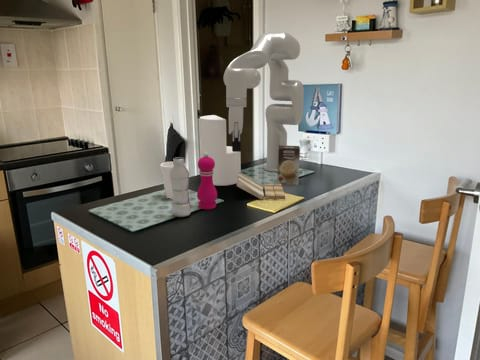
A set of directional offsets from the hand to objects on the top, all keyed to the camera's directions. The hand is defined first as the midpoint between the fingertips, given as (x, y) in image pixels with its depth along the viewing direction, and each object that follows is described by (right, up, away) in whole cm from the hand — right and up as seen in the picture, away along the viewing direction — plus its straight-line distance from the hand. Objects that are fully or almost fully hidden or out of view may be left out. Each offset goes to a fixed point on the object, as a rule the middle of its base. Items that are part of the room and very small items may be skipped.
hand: (236, 151), depth 154 cm
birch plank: (+5, -14, +4) cm, 15 cm away
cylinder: (-7, -11, +25) cm, 28 cm away
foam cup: (-24, -18, +3) cm, 30 cm away
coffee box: (+22, -13, +19) cm, 32 cm away
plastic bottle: (-18, -23, -18) cm, 35 cm away
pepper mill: (-10, -21, -9) cm, 25 cm away
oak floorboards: (+15, -17, +5) cm, 23 cm away
